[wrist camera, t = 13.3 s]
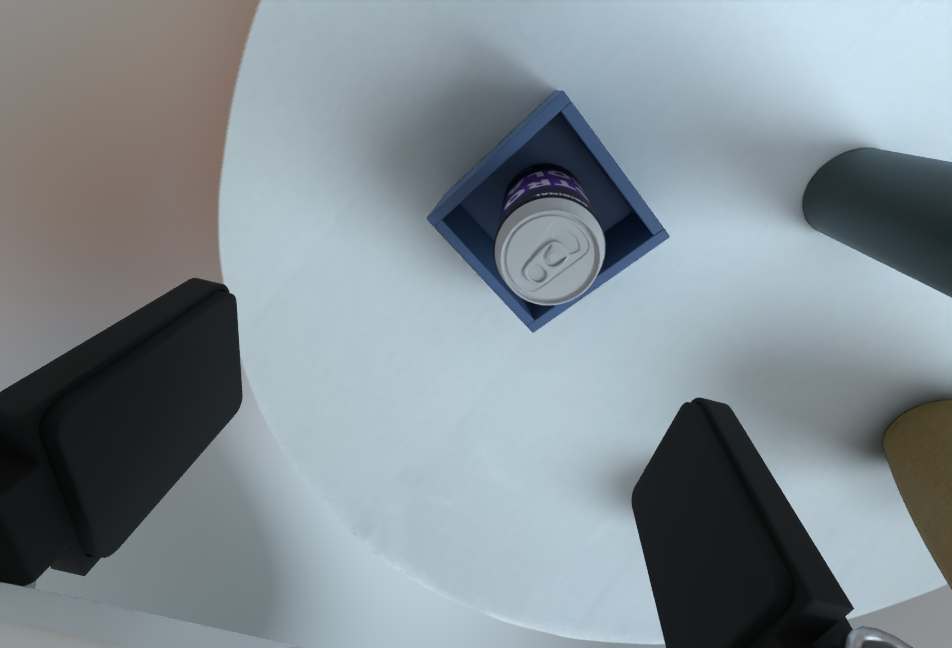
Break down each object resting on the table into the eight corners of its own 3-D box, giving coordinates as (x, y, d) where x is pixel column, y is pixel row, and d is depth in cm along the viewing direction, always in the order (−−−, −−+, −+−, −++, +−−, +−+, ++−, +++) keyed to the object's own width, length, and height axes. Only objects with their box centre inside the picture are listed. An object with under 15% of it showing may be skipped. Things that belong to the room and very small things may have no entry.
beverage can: (600, 198, 32) (636, 254, 21) (545, 256, 34) (552, 332, 23) (540, 143, 30) (546, 174, 20) (487, 208, 33) (468, 266, 22)
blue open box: (443, 195, 33) (426, 218, 27) (556, 89, 29) (563, 90, 23) (532, 293, 36) (532, 333, 30) (644, 209, 32) (670, 237, 26)
